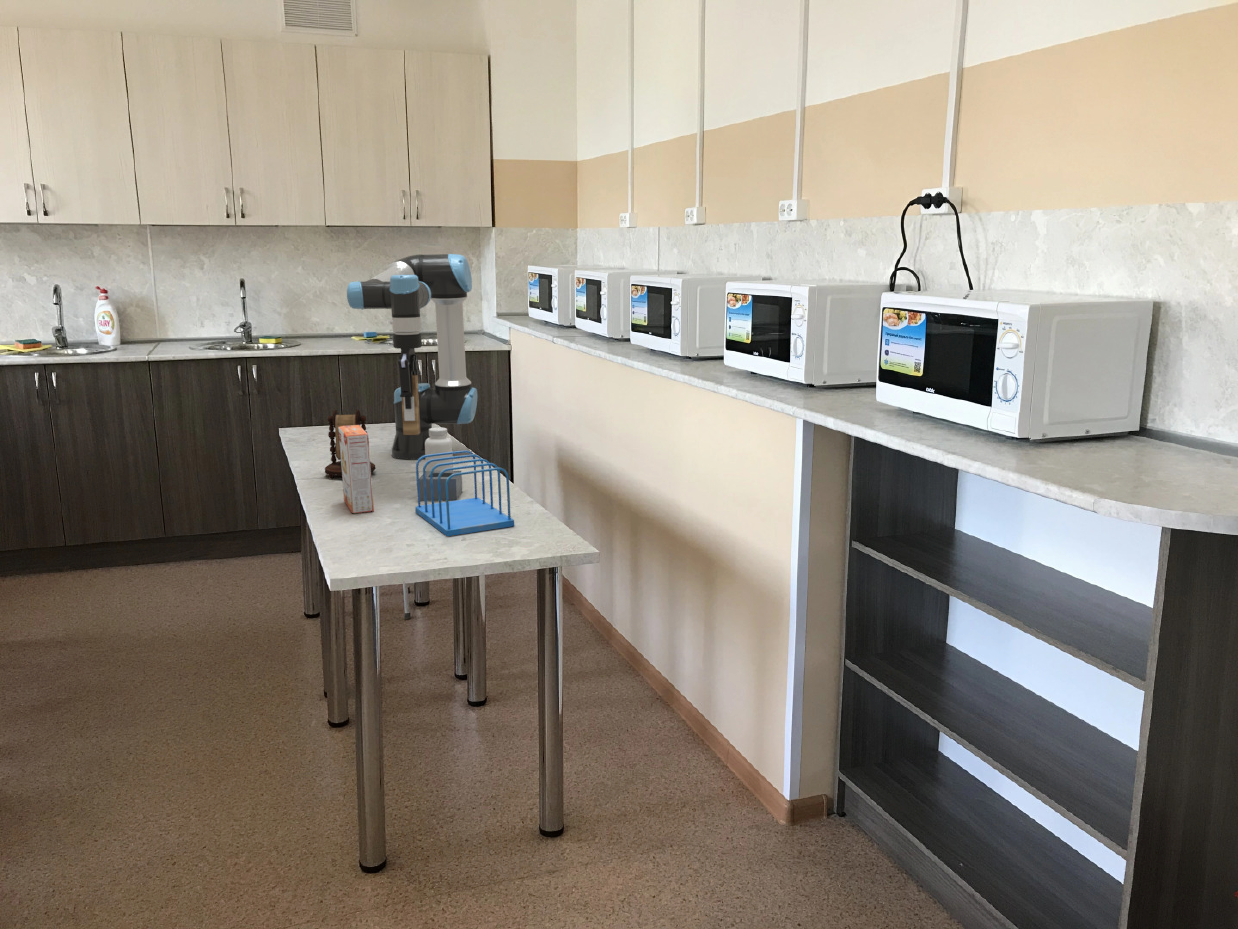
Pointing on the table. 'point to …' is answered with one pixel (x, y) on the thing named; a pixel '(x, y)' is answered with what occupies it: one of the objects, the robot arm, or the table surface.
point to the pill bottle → (438, 448)
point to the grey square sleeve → (441, 486)
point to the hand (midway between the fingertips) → (411, 419)
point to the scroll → (336, 422)
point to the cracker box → (356, 468)
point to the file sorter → (467, 511)
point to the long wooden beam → (414, 426)
